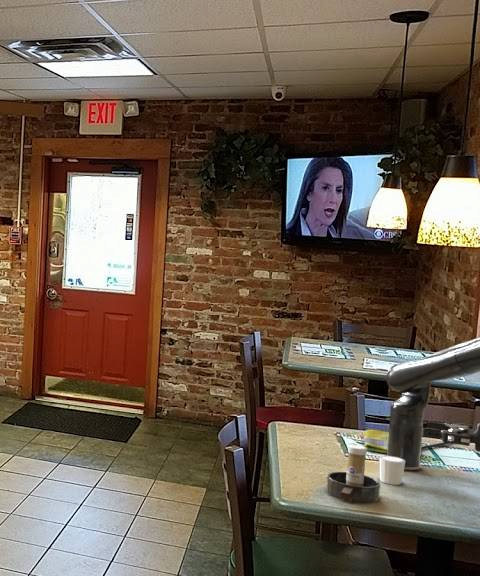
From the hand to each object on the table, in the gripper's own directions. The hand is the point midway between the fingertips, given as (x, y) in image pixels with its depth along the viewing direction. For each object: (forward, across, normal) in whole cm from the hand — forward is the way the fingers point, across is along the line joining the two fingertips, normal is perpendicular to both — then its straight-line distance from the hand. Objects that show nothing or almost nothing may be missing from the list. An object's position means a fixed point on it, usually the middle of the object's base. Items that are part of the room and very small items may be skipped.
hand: (425, 428), depth 208 cm
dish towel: (+14, -61, +22) cm, 67 cm away
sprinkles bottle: (+15, +4, +21) cm, 26 cm away
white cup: (+9, -17, +22) cm, 29 cm away
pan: (+16, +4, +21) cm, 27 cm away
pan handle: (+16, +13, +21) cm, 30 cm away
